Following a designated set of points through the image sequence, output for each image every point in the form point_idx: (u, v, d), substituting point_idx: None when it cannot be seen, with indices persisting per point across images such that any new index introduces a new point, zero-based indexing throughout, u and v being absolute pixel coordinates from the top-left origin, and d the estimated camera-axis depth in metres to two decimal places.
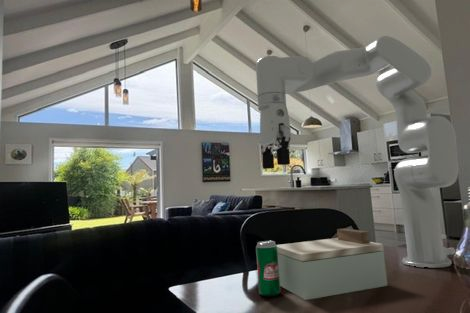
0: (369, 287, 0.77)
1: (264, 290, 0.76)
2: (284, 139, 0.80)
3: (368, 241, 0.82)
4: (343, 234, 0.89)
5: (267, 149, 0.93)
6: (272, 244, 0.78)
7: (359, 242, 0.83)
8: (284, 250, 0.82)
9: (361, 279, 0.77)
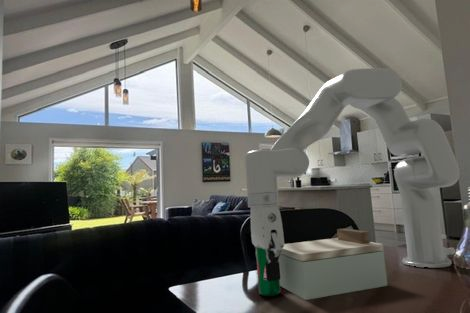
0: (369, 287, 0.77)
1: (264, 290, 0.76)
2: (273, 256, 0.74)
3: (368, 241, 0.82)
4: (343, 234, 0.89)
5: None
6: None
7: (359, 242, 0.83)
8: (284, 250, 0.82)
9: (361, 279, 0.77)
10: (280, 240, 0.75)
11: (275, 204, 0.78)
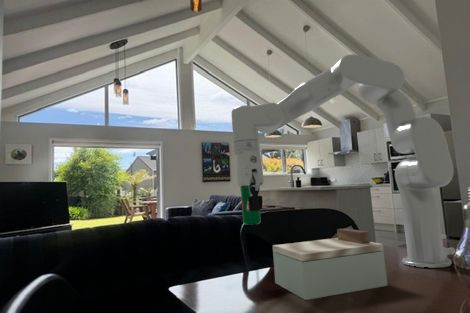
0: (369, 287, 0.77)
1: (247, 219, 0.93)
2: (254, 189, 0.90)
3: (368, 241, 0.82)
4: (343, 234, 0.89)
5: None
6: None
7: (359, 242, 0.83)
8: (284, 250, 0.82)
9: (361, 279, 0.77)
10: (260, 177, 0.92)
11: (256, 149, 0.95)
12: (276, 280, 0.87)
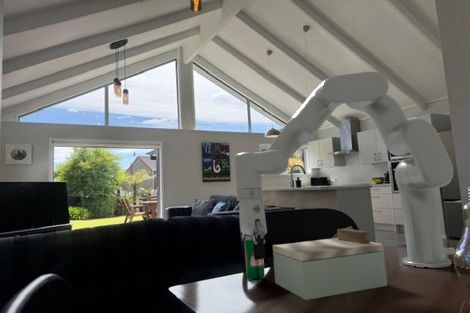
0: (369, 287, 0.77)
1: (250, 275, 0.91)
2: (259, 238, 0.87)
3: (368, 241, 0.82)
4: (343, 234, 0.89)
5: None
6: None
7: (359, 242, 0.83)
8: (284, 250, 0.82)
9: (361, 279, 0.77)
10: None
11: (259, 198, 0.93)
12: (276, 280, 0.87)
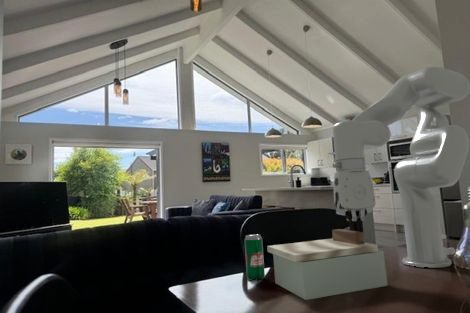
0: (369, 287, 0.77)
1: (250, 275, 0.91)
2: None
3: (363, 242, 0.82)
4: (338, 234, 0.88)
5: None
6: (258, 237, 0.93)
7: (354, 243, 0.82)
8: (278, 251, 0.81)
9: (361, 279, 0.77)
10: (340, 201, 0.85)
11: (344, 170, 0.87)
12: (276, 280, 0.87)
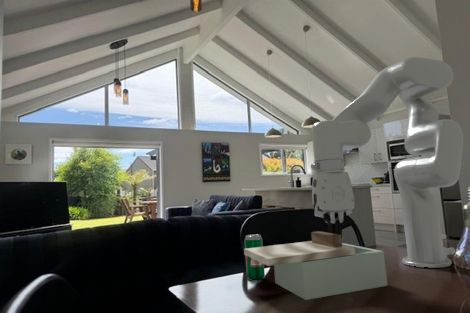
0: (369, 287, 0.77)
1: (250, 275, 0.91)
2: None
3: (340, 244, 0.80)
4: (316, 237, 0.86)
5: None
6: (258, 237, 0.93)
7: (331, 245, 0.80)
8: (253, 254, 0.79)
9: (361, 279, 0.77)
10: (318, 203, 0.84)
11: (322, 171, 0.85)
12: (276, 280, 0.87)
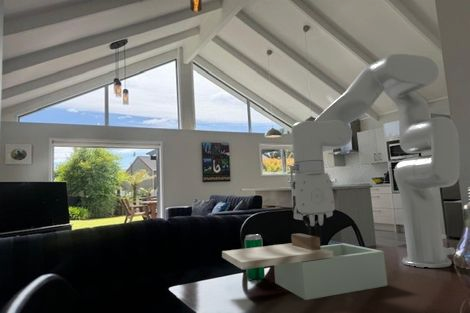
0: (369, 287, 0.77)
1: (250, 275, 0.91)
2: None
3: (319, 247, 0.78)
4: (296, 239, 0.85)
5: None
6: (258, 237, 0.93)
7: (309, 248, 0.78)
8: (230, 257, 0.77)
9: (361, 279, 0.77)
10: (297, 206, 0.82)
11: (301, 173, 0.83)
12: (276, 280, 0.87)
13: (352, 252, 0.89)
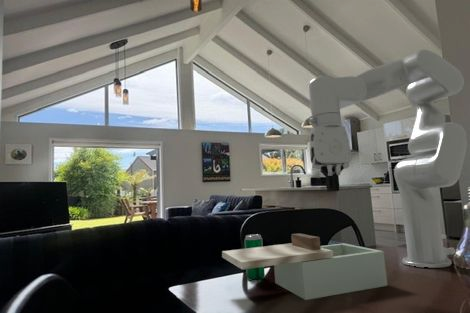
0: (369, 287, 0.77)
1: (250, 275, 0.91)
2: None
3: (319, 247, 0.78)
4: (296, 239, 0.85)
5: None
6: (258, 237, 0.93)
7: (309, 248, 0.78)
8: (230, 257, 0.77)
9: (361, 279, 0.77)
10: (316, 156, 0.85)
11: (319, 125, 0.86)
12: (276, 280, 0.87)
13: (352, 252, 0.89)
